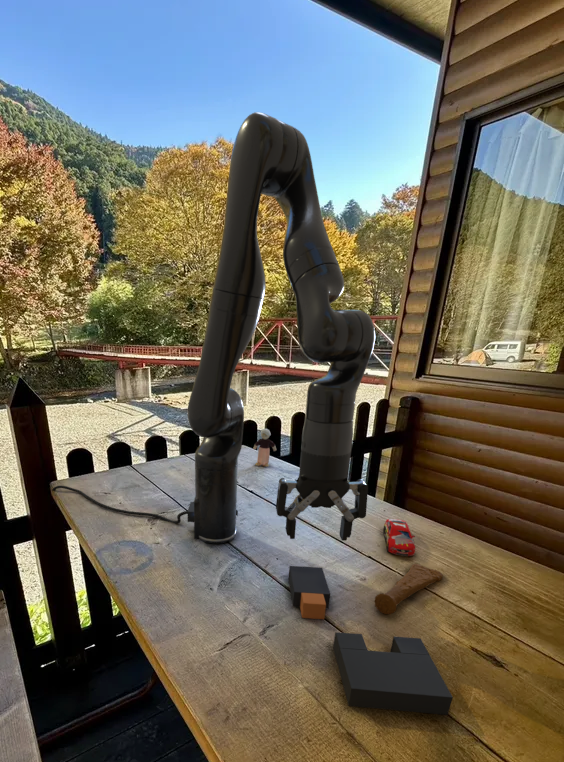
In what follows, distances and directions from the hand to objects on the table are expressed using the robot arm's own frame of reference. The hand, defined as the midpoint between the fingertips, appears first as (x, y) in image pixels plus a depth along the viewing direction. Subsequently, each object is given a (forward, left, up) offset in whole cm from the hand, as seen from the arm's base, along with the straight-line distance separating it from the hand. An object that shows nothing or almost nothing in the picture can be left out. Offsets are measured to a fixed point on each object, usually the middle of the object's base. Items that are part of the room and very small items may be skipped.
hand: (317, 537), depth 70 cm
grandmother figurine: (-6, +69, -11) cm, 70 cm away
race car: (+21, +20, -12) cm, 31 cm away
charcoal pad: (-1, -2, -11) cm, 11 cm away
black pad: (+7, -18, -11) cm, 23 cm away
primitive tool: (+17, +3, -12) cm, 21 cm away
